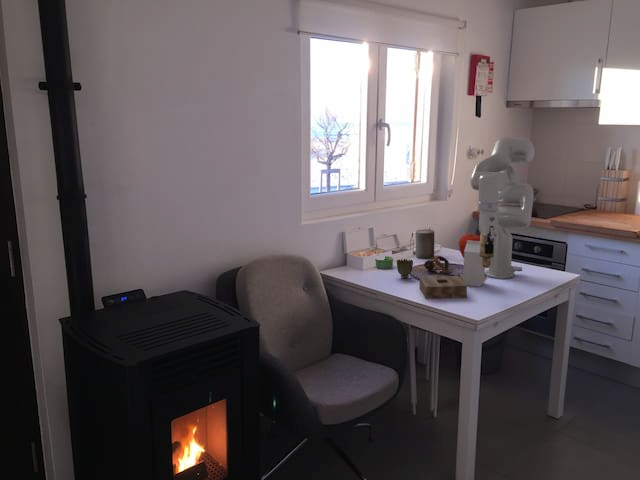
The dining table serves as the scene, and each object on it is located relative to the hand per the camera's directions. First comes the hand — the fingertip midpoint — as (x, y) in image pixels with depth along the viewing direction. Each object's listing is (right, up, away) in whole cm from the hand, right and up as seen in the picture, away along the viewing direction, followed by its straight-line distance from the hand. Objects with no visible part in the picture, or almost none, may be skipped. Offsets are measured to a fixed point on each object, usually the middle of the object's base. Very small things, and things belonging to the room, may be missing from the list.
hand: (486, 251), depth 215 cm
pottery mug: (-12, -11, +40) cm, 43 cm away
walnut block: (-16, -17, +8) cm, 25 cm away
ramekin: (-35, -9, +51) cm, 62 cm away
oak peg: (0, -6, +2) cm, 7 cm away
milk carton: (0, -15, +19) cm, 24 cm away
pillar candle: (-12, -4, +67) cm, 68 cm away
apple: (+9, -6, +56) cm, 57 cm away
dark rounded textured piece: (-28, -13, +31) cm, 44 cm away
